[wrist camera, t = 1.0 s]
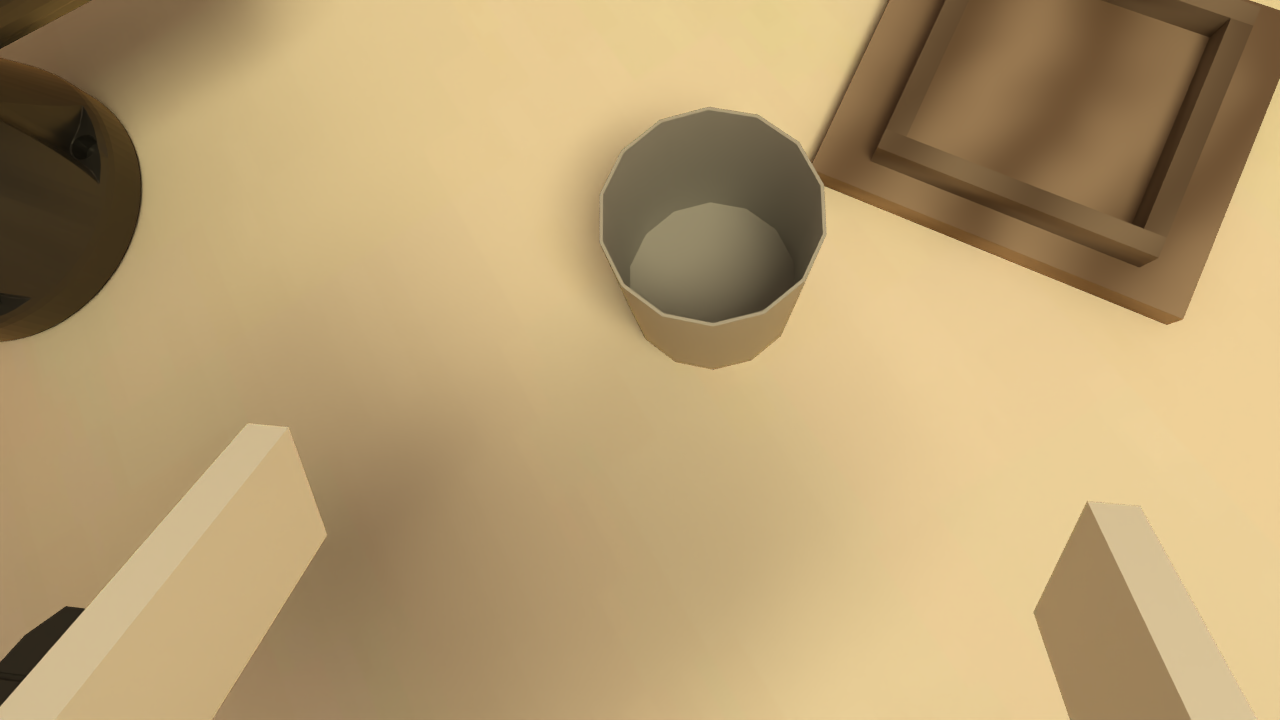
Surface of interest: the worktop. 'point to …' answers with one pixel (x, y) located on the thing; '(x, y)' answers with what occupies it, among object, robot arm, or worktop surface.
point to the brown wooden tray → (1062, 132)
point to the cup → (712, 233)
